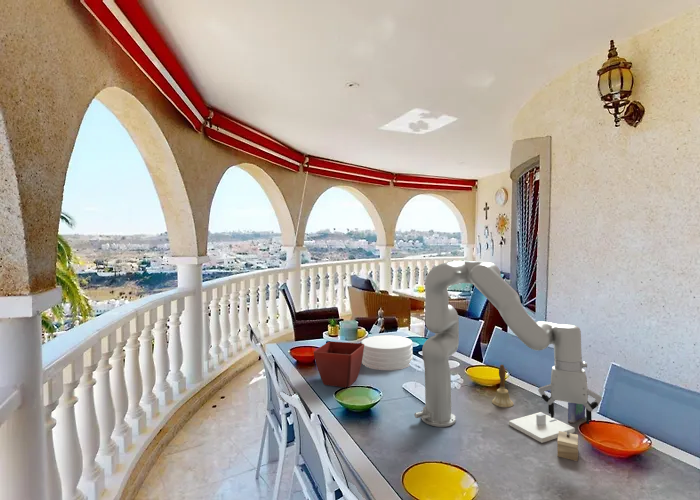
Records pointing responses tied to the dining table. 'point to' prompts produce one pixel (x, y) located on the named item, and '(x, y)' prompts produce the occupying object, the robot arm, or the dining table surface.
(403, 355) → the plate stack
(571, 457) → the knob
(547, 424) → the shaft board
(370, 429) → the dining table surface
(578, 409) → the flask
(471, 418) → the dining table surface
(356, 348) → the plant pot
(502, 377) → the hand bell
